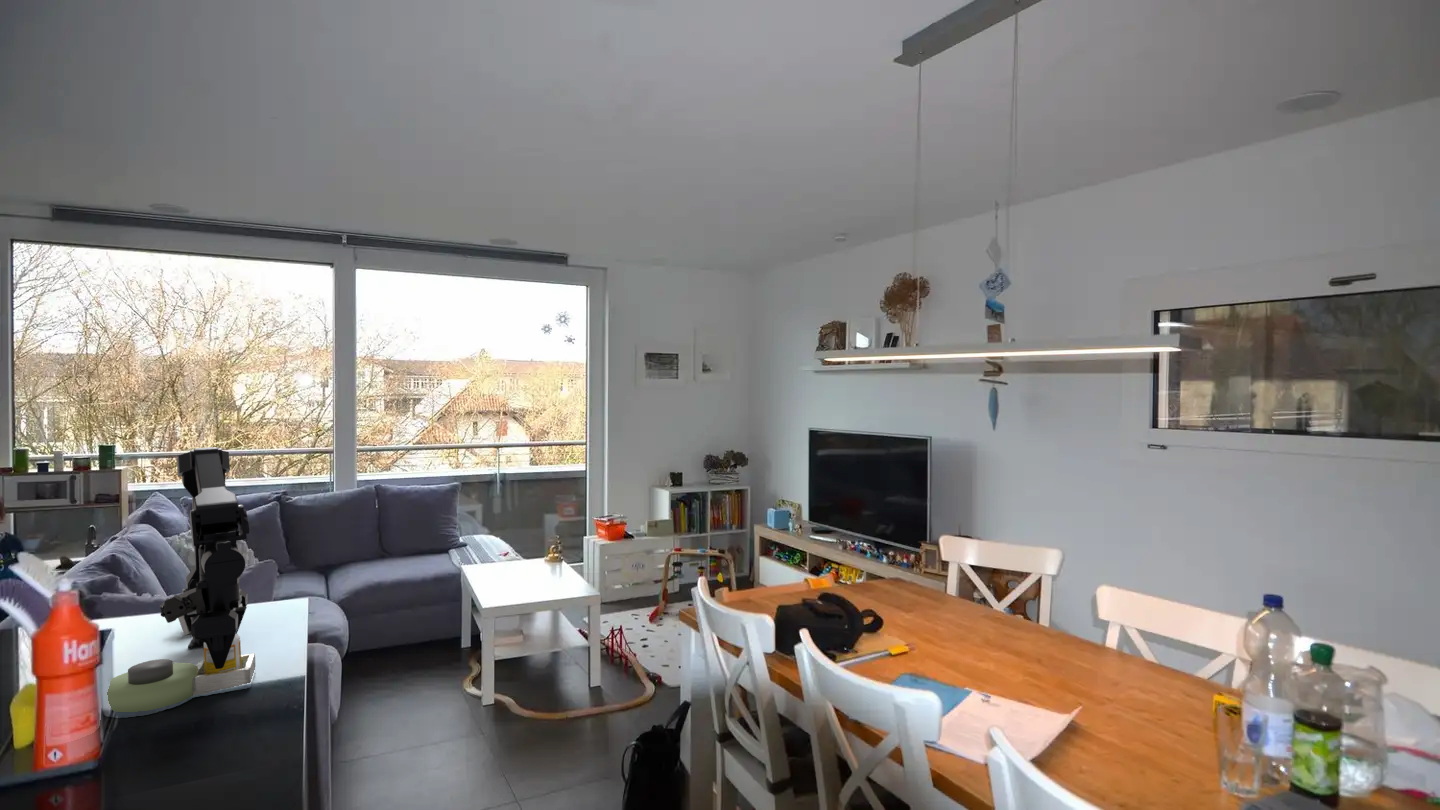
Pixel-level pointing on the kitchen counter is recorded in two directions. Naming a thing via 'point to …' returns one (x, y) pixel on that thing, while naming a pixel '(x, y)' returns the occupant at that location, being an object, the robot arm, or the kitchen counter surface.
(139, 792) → the kitchen counter surface
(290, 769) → the kitchen counter surface
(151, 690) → the green base with knob
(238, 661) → the supplement bottle
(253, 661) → the white open tray
